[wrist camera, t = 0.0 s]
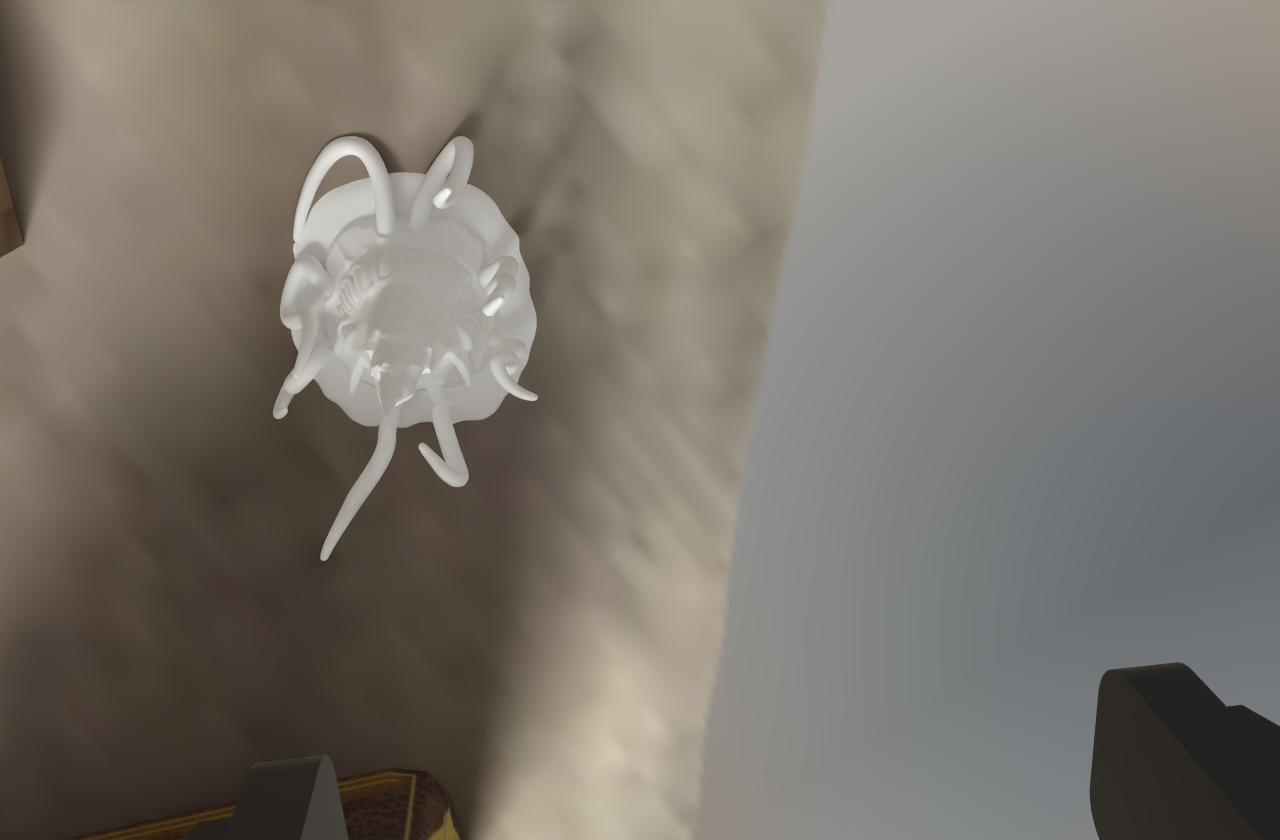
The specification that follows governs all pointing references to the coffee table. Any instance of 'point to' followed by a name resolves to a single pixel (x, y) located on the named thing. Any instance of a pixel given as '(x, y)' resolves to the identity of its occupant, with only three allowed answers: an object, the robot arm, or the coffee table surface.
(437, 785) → the book
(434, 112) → the coffee table surface
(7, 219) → the wooden tray
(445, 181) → the white tentacle figurine
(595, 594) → the coffee table surface
